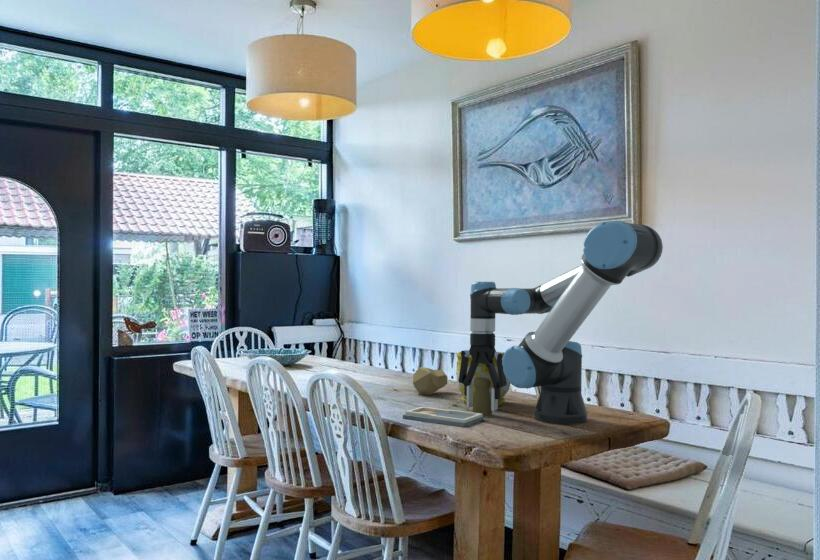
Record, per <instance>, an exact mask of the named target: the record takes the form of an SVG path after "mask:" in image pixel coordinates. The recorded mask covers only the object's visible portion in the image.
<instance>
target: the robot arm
mask: <svg viewBox="0 0 820 560" xmlns="http://www.w3.org/2000/svg"><path fill="white" fill-rule="evenodd" d="M663 248H664V247H663V241H662V238H661V236H660V234H659V233H658V232H657V230H655V229H654V228H653V227H651V226H649V225H646V224H641V223H633V222H632V223H630V222H625V221H620V220H610V221H609V220H607V221H603V222H599V223H598V224H596V225H594V226H593V227H592V228H591V229H590V230H589V232H587V233H586V236H585V238H584V240H583V254H582V255H581V257H580V260H581V264H580V265H577V266H576V267H574V268H572V269H569V270H567V271H566V272H563V273H562V274H560V275H558V276H556V277H554V278H552V279H549V280H547V281H545V282H543V283H542V284H540V285H537V286H535V287H533V288H519V287H518V288H517V287H510V288H508V287H507V288H505V287H503V288H498V287H497V286H496V285H497V284H496V283H495V282H494V281H473V282H472V283H471V285H470V294H469V296H470V316H469V317H470V321H469V322H470V325H469V327H470V328H469V330H470V331H469V332H471V333H470V334H469V335H470V336H469V344H470V346H469V347H470V348H469V349H468V350H467V349H466V350H461V351H460V352H461V357H462V360H461V367H460V374H459V383H462V384H464V394H465V396H467V404H466V408H469V409H470V408H473V385H470V384H472V383H471V382H472V379H473V376H474V374H475V371H476V369H477V366H478V365H479V363H482V364H485V365H486V367H487V368H488V371H489V374H490V377H491V380H492V383H493V385H494V387H493V388H492V396H491V411H493V412H495V411H497V410H498V407H499V406H498V399H500V389H501V387H504V386H506V385H507V382H506V378H507V380H508V381H509V382H510V385H512V386H513V387H515V388H517V389H527V390H528V389H531V388H537V387H540V392H539V395H538V399H537V401H536V404H535V408H534V410H533V413H534V416H533V417H534V419H535V420H537V421H540V422H543V423H550V424H559V425H560V424H561V425H574V424H575V425H576V424H577V425H579V424H583V423H586V422H588V410H587V407H586V404H585V401H584V398H583V394H582V376H583V375H582V372H583V371H582V366H583V365H582V364H583V363H582V362H583V361H582V358H583V354H582V353H583V352H582V345H581V344H580V343H579V342H578V341H572V340H571V339H572V337H573V336H574V335H575V334H576V332H577V331H578V330H579V328H580V327H581V326H582V324H583V323H584V322H585V321H586V319H587V318H588V317H589V315H590V314H591V313H592V311H593V310H594V309H595V308H596V306H597V304H598V303H599V302H600V301H601V299H602V298H603V297H604V295H605V294H606V293H607V292H608V290H609V289H610V288H611V286H617V285H620V284H621V283H622V282H623V280H625V279H626V277H627V278H629V277H632V276H634V275H636V274H639V273H641V272H644V271H646V270H648V269H650V268H653V267H654V266H655V264H657V263H658V261H659V260H660V258H661V256H662V253H663ZM496 314H500V315H510V316H518V315H525V314H526V315H528V314H529V315H531V314H538V315H543V314H547V315H546V316H545V318H544V319H543V320H542V322H541V323H540V325H539V326H538V327H537V329H536V331H529V332H527V333H526V334H525V336H524V337H523V339H522V340H521V342H520V343H519V344H518V345H512V346H510V347H508V348H507V349H506V350H505V352H504V353H499V352H500V351H497V349H496V347H495V346H496V334H495V333H494V332H496ZM470 355H471V356H472V361H471V365H470V368H469V371H468V373H467V368H468V361H469V356H470ZM494 356H496V359H497V369H498V375H497V372H496V369H495V367H494V362H493V358H494ZM466 375H467V376H466ZM498 377H499V378H498Z"/></svg>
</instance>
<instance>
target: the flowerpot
mask: <svg viewBox="0 0 820 560" xmlns="http://www.w3.org/2000/svg"><path fill="white" fill-rule="evenodd" d="M498 352H499V353H505V352H502V351H498ZM456 357H457V358H458V359H457V368H456V385H457V387H458V390H459V392H460V394H461V395H462V397H461V400H462V401H463V402H464V404H466V405H467V396H465V394H464V384H462V383H459V374H460V367H461V360H462V357H461V351H458V352H457V353H456ZM471 361H472V356H471V355H470V356H469V361H468V368H467V373H468V371H469V368H470V365H471ZM493 362H494V367H495V369H496V372H497V375H498V369H497V359H496V356H494V358H493ZM466 376H467V375H466ZM480 377H484V378H488V379H490V381H491V386H490V388H489V394H490V402H491V396H492V388H493V387H494V385H493V383H492V380H491V377H490V374H489V371H488V368H487V367H486V365H485V364H482V363H479V365H478V366H477V369H476V371H475V374H474V376H473V379H472V382H471V383H472V384H470V385H473V402H474V395H475V387H474V380H475V379H476V378H480ZM498 378H499V377H498ZM506 382H507V385H506V386H504V387H501V389H500V399H498V407H499V406H501V405H503V403H504V402H505V401H506V399H505V398H504V397H505V396H506V395H507V393H508V392H509V391H510V390H509V389H510V386H511V383H510V382H509V381H508V380H507V378H506Z"/></svg>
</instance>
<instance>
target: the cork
mask: <svg viewBox="0 0 820 560" xmlns="http://www.w3.org/2000/svg"><path fill="white" fill-rule="evenodd" d="M490 386H491V381H490V379H488V378H484V377H480V378H476V379H475V380H474V387H475V395H474V402H473V407H472V409H471V412H473V413H481V414H483V416H484V417H490V416H493V412H492V411H491V402H490V394H489V388H490Z"/></svg>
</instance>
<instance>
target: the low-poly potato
mask: <svg viewBox="0 0 820 560" xmlns="http://www.w3.org/2000/svg"><path fill="white" fill-rule="evenodd" d="M412 383H413V384H412V385H413V387H414V388H415V390H416V391H417V393H418V394H419V395H424V396H425V395H426V396H431V395H433V394H435V393H436V392H437V391H439V390H440V389H442V388H444V387H446V386H447V385H448V375H447V374H446V373H445V371H444V370H443V369H433V368H430V367H423V366H420V367H418V368H417V369H416V371H415V372H414V373H413V375H412Z"/></svg>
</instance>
